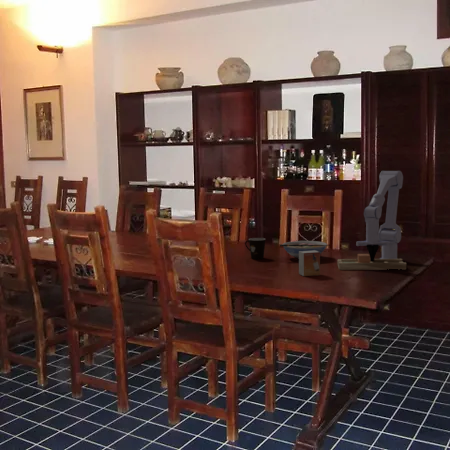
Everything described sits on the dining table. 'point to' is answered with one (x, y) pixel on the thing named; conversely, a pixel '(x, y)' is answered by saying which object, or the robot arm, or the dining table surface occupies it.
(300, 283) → the dining table surface
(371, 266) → the trap lane
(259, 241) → the coffee mug
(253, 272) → the dining table surface
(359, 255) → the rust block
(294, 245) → the ramen bowl
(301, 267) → the small box
